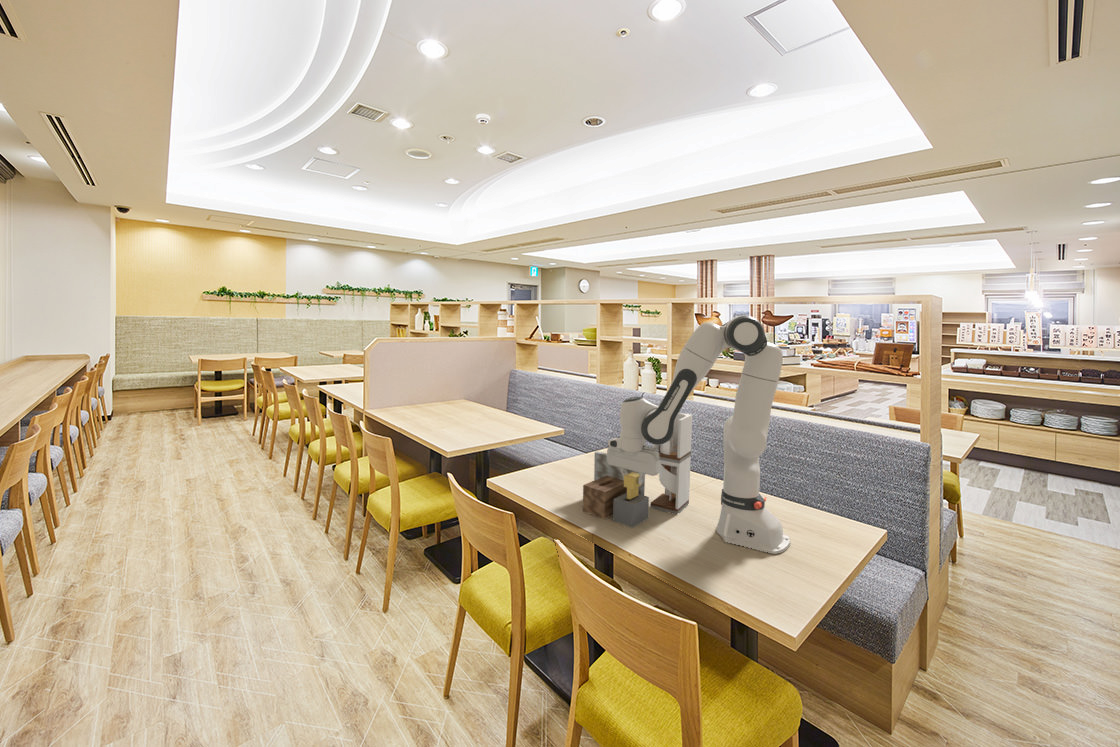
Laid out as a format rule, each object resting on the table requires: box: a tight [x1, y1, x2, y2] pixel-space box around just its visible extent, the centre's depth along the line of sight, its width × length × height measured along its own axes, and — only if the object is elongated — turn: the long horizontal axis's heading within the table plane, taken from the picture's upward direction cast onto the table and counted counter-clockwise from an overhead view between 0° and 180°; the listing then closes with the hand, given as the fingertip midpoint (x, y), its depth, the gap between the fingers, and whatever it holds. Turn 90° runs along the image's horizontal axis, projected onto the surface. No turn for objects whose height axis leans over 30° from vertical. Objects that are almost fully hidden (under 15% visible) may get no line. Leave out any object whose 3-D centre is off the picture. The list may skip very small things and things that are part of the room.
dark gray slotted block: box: [612, 493, 650, 529], centre depth 167 cm, size 8×10×8 cm
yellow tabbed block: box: [624, 472, 642, 499], centre depth 165 cm, size 4×5×8 cm
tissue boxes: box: [582, 450, 646, 520], centre depth 176 cm, size 22×16×18 cm
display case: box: [649, 412, 693, 515], centre depth 177 cm, size 11×11×35 cm
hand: (632, 482), depth 165 cm, fingers closed on yellow tabbed block, 4 cm apart
